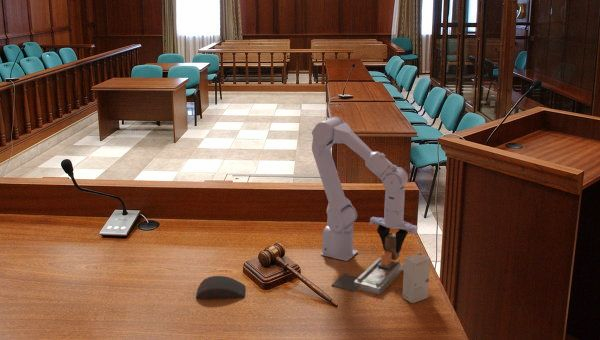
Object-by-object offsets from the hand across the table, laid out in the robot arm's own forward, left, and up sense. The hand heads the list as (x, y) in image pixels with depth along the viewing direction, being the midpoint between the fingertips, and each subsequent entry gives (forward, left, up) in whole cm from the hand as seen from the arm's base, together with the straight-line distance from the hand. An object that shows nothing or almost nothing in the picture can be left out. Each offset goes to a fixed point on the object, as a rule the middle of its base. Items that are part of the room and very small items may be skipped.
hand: (392, 250), depth 187 cm
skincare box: (+13, -14, -6) cm, 20 cm away
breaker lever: (0, -4, -3) cm, 5 cm away
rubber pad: (-6, -16, -5) cm, 18 cm away
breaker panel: (0, -9, -5) cm, 11 cm away
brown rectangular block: (0, 0, -2) cm, 2 cm away
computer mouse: (-35, -40, -6) cm, 53 cm away
